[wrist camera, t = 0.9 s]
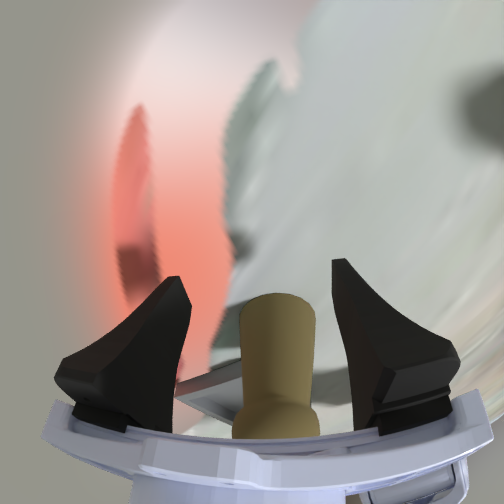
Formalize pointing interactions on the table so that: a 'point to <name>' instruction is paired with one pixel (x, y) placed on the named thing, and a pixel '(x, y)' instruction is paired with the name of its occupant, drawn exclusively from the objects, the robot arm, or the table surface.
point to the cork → (276, 369)
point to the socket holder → (215, 392)
